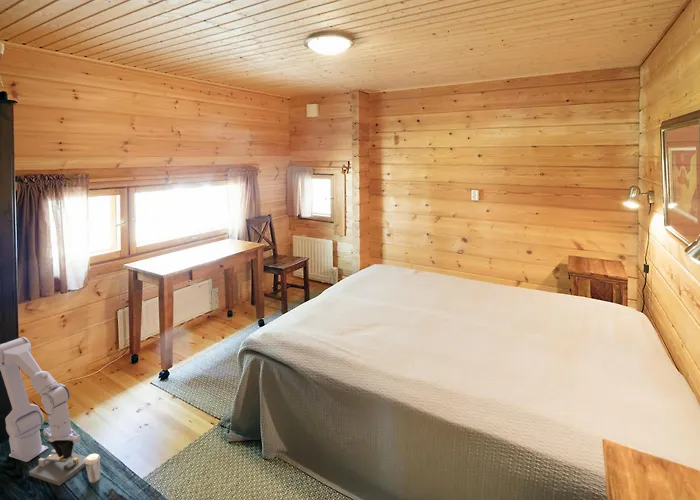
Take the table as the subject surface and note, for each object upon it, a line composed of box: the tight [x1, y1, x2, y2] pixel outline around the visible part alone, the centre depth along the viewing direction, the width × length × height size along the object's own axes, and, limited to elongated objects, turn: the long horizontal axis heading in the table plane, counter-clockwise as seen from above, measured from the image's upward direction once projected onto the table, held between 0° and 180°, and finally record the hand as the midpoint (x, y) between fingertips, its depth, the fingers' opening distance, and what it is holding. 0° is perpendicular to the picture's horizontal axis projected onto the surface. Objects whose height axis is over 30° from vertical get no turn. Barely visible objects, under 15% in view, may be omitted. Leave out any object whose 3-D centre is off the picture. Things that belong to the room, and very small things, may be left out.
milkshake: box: [84, 453, 101, 484], centre depth 139 cm, size 4×5×10 cm
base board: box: [28, 448, 87, 487], centre depth 145 cm, size 14×12×4 cm
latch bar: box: [43, 453, 72, 462], centre depth 145 cm, size 10×3×1 cm, turn 71°
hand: (65, 456), depth 143 cm, fingers closed
